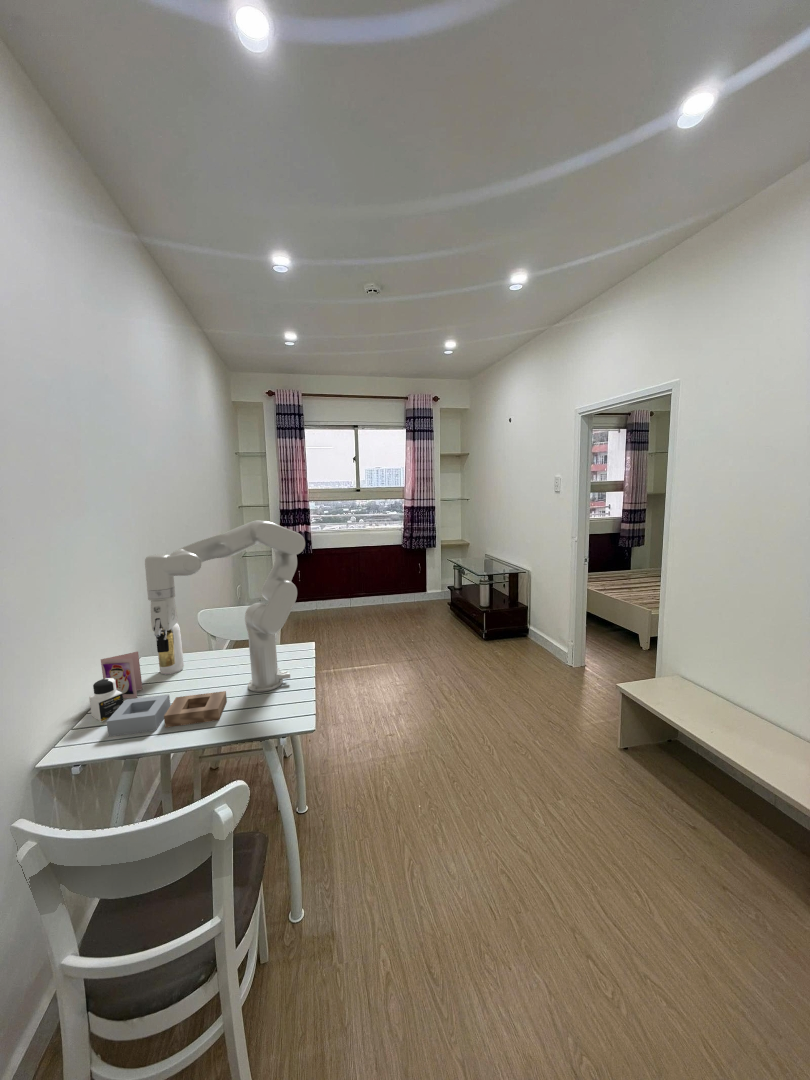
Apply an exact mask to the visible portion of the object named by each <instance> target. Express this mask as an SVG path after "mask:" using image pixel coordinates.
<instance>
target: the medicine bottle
mask: <svg viewBox="0 0 810 1080" xmlns="http://www.w3.org/2000/svg"><path fill="white" fill-rule="evenodd" d="M92 687H93V688H92V689H93V695H90V696H89V698H88V699H89V706H90V713H91V716H93V718H94V717H95V718H94V719H96V720H97V721H99V722H102V721H103V722H104V721H107V720H108V719H109V718H110V717H111V716H112V715H113V713H114V712H115V711H116V710H117V709H118V708H119V707H120V706H121V704H122V703H123V702H124V698H123V694H122V692H120V691H118V690H116V682H115V679H113V678H105V679H103V678H101V679H99V680H97V681H96V682H94V683H93V684H92Z"/></svg>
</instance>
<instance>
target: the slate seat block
mask: <svg viewBox="0 0 810 1080" xmlns="http://www.w3.org/2000/svg"><path fill="white" fill-rule="evenodd" d="M170 706H171V699H170V694H169V693H168V694H162V695H152V696H146V697H137V698H126V699H125V700H123V703H122V704H121V706H120V707H119V708H118V709H117V710H116V711H115V712H114V713H113V715H112V716H111V717H110V718H109V719H107V720H105V721H106V729H107V736H108V737H114V736H122V735H129V734H137V733H145V732H151V731H153V732H154V731H156V730H158V729H159V726H160V725H161V724H162V722H163V721H164V715H165V713H166V712H167V710H168V709H169V707H170Z"/></svg>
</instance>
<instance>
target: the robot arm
mask: <svg viewBox="0 0 810 1080" xmlns="http://www.w3.org/2000/svg"><path fill="white" fill-rule="evenodd" d="M257 545H263V546H267V547H268V548H271V549H273V552H274V556H275V559H274V563H273V566H272V568H271V570H270V572H269V573H268V575H267V577H266V579H265V581H264V583H263V585H262V587H261V589H260V591H261V592H260V594H261V596H262V597H263V599H265V600H266V601H267V603H264V602H255V603H252V604H250V606H248V608H247V609H246V611H245V614H244V623H245V628H246V631H247V637H248V647H249V648H248V649H249V650H248V651H249V661H250V672H251V673H250V674H251V680H249V681H248V683H247V688H248V690H250V691H252V692H255V693H256V692H257V693H262V692H268V691H273V690H275V689H277V688H279V687H281V686H282V684H283V683H284V680H287V679H291V672H288V670H287V671H280V668H279V667H278V656H277V641H276V639H277V638H276V634H278V632H279V631H281V629H282V628H283V627H284V625H285V624H286V622H287V619H288V618H289V615H290V613H291V612H292V610H293V607H294V606H295V604H296V601H297V597H298V588H297V586H296V584H294V583H293V581H292V580H293V577H294V576H295V573H296V571H297V568H298V557H297V555H299V554H301V553H302V552H303V551H304V549H305V547H306V540H305V537H304V536H303V535H302V534H301V533H299V532H297V531H294V530H292V529H289V528H286V527H284V526H281V525H279V524H277V523H274V522H271V521H267V520H260V519H259V520H258V519H256V520H253V521H249V522H247V523H245V524H242V525H239V526H237V527H234V528H232V529H230V530H228V531H225V532H223V533H222V532H221V533H220V534H215V535H213V536H210V537H208V538H205V539H202V540H199V541H195V542H193V543H190V544H188V545H185V546H183V547H181V548H178V549H176V550H174V551H173V552H171V554H167V553H164V554H163V553H159V554H158V553H157V554H150V555H148V556H146V557H145V558H144V569H145V579H146V580H145V581H146V591H147V601H150V622H151V623H150V625H151V630H152V631H153V632H154V634H153V635H154V637H155V642H156V641H157V642H156V648H157V649H156V652H157V654H158V653H160V652H168V651H169V642H168V639H167V632H172V633H173V626H174V625H175V624H176V623H177V624H178V613H177V606H176V600H175V597H176V588H175V586H176V585H175V578H174V576H175V577H183V576H185V577H186V576H187V577H189V576H193V575H195V574H198V572H199V571H200V570H201V568H202V564H203V563H204V562H206V561H210V560H215V559H223V558H230V557H233V556H235V555H238V554H240V553H242V552H244V551H246V550H248V549H251V548H253V547H255V546H257ZM161 628H162V630H161ZM161 632H163V633H164V635H163V633H161ZM173 642H174V637H173Z"/></svg>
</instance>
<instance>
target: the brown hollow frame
mask: <svg viewBox="0 0 810 1080" xmlns="http://www.w3.org/2000/svg"><path fill="white" fill-rule="evenodd" d="M227 700H228V699H227V690H224V691H216V692H207V693H201V694H200V693H198V694H192V695H191V694H190V695H185V696H182V695H181V696H176V697H175V698H174V700H173V702H172V703H170V705H171V706H170V707H169V709H168V710H167V712H166V713H165V715H164V719H163V721H164V728H172V727H181V726H187V725H194V724H201V723H208V722H216V721H220V720H221V717H222V715H223V712H224V710H225V707H226V705H227V702H228V701H227Z"/></svg>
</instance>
